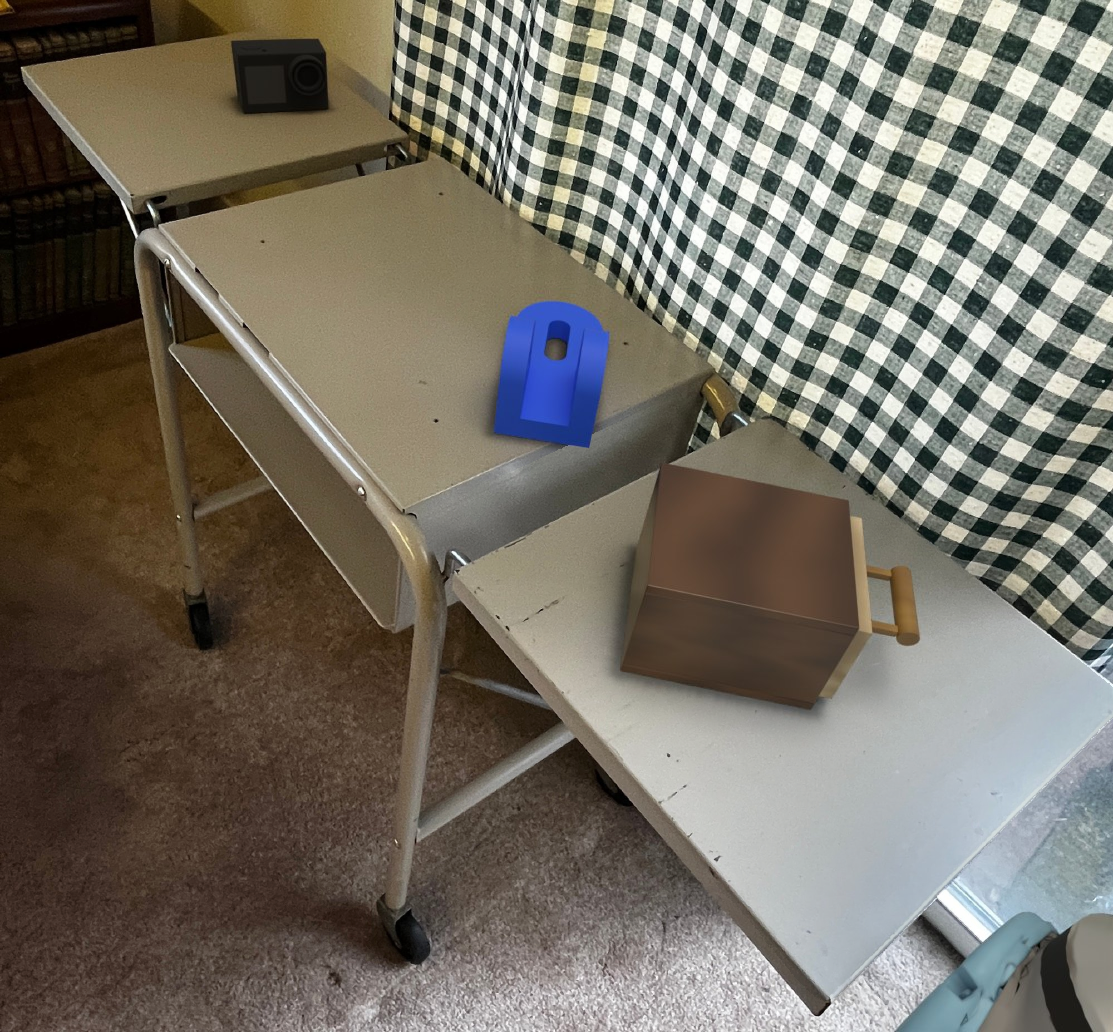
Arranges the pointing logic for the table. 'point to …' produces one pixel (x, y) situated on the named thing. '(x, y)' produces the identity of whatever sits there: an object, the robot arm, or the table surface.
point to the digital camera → (280, 75)
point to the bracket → (551, 375)
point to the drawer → (901, 602)
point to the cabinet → (741, 587)
